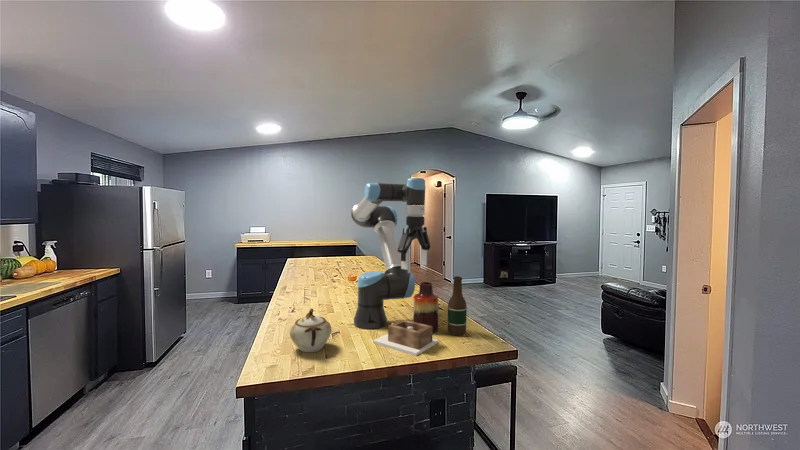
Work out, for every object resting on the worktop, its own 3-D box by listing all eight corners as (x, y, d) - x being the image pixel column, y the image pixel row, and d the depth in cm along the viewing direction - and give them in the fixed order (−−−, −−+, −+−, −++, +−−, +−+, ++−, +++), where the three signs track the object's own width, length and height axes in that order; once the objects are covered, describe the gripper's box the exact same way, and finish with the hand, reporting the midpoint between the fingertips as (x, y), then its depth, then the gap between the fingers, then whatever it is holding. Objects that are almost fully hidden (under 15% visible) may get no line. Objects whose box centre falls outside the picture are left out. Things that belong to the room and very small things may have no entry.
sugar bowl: (335, 355, 122) (335, 313, 121) (291, 361, 117) (291, 318, 116) (327, 336, 140) (327, 300, 140) (288, 341, 135) (288, 303, 134)
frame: (388, 341, 134) (388, 325, 133) (402, 333, 142) (403, 319, 142) (418, 349, 125) (418, 333, 125) (432, 341, 134) (432, 326, 133)
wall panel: (373, 342, 134) (373, 326, 134) (397, 331, 147) (397, 316, 147) (415, 355, 122) (416, 337, 122) (438, 342, 135) (438, 326, 135)
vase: (409, 331, 148) (410, 284, 147) (417, 324, 158) (418, 279, 157) (434, 335, 144) (434, 286, 143) (440, 327, 154) (441, 281, 153)
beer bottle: (465, 337, 142) (467, 279, 141) (446, 335, 143) (447, 278, 142) (466, 330, 149) (467, 275, 148) (448, 329, 151) (449, 274, 150)
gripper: (404, 216, 130) (403, 272, 131) (439, 215, 149) (437, 264, 151) (389, 215, 134) (388, 269, 136) (424, 215, 154) (423, 262, 155)
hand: (414, 267), depth 143 cm, fingers open, 13 cm apart
